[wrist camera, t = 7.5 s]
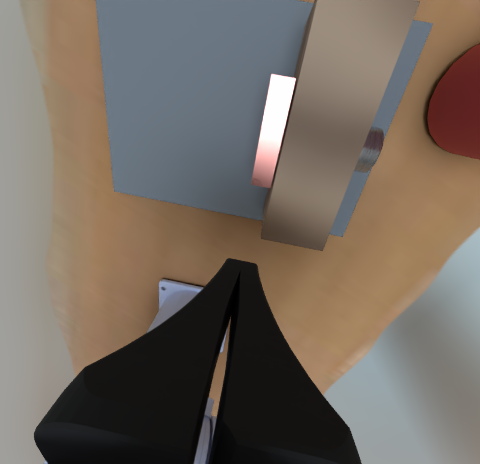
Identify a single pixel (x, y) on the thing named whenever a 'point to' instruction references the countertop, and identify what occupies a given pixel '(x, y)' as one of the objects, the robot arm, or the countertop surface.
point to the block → (332, 112)
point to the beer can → (458, 107)
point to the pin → (274, 134)
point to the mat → (209, 96)
